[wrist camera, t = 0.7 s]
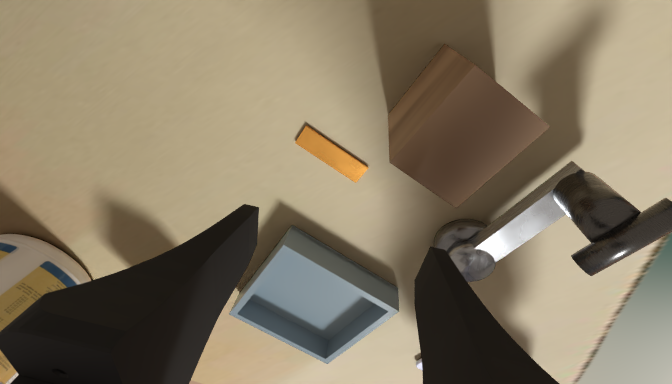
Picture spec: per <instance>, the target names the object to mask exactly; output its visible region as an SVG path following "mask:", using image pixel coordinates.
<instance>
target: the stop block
mask: <svg viewBox="0 0 672 384" xmlns="http://www.w3.org/2000/svg"><path fill="white" fill-rule="evenodd" d="M388 124H389V157H390V163H391V164H393V165H394V166H396V167H397V168H398V169H400V170H401V171H403V172H404V173H406V174H407V175H409V176H410V177H412V178H413V179H414V180H416V181H417V182H419V183H420V184H422V185H423V186H425V187H426V188H427V189H429V190H430V191H432V192H433V193H435V194H436V195H438V196H439V197H440V198H442V199H443V200H445V201H446V202H448V203H449V204H451V205H452V206H453V207H455V208H457V207H458V206H460V205H461V204H462V203H463V202H464V201H465V200H467V199H468V198H469V197H470V196H471V195H472V194H473V193H475V192H476V191H477V190H478V189H479V188H480V187H481V186H483V185H484V184H485V183H486V182H487V181H488V180H490V179H491V178H492V177H493V176H494V175H495V174H496V173H498V172H499V171H500V170H501V169H502V168H503V167H505V166H506V165H507V164H508V163H509V162H510V161H511V160H513V159H514V158H515V157H516V156H517V155H518V154H520V153H521V152H522V151H523V150H524V149H525V148H526V147H528V146H529V145H530V144H531V143H532V142H533V141H535V140H536V139H537V138H538V137H539V136H540V135H541V134H543V133H544V132H545V131H546V130H547V129H548V128H550V126H549V125H548V124H546V123H545V122H544V121H543V120H542V119H540V118H539V117H538V116H537V115H536V114H534V113H533V112H532V111H531V110H530V109H528V108H527V107H526V106H525V105H523V104H522V103H521V102H520V101H519V100H517V99H516V98H515V97H514V96H513V95H511V94H510V93H509V92H508V91H506V90H505V89H504V88H503V87H502V86H500V85H499V84H498V83H497V82H496V81H494V80H493V79H492V78H491V77H490V76H488V75H487V74H486V73H485V72H483V71H482V70H481V69H480V68H479V67H477V66H476V65H475V64H473V63H472V62H470V61H469V60H468V59H466V58H465V57H463V56H462V55H460V54H459V53H457V52H456V51H454V50H453V49H451V48H450V47H448V46H447V45H445V44H444V45H443V46H442V48H441V49H440V50H439V52H438V53H437V54H436V55H435V57H434V58H433V59H432V60H431V62H430V63H429V64H428V65H427V67H426V68H425V69H424V70H423V72H422V73H421V74H420V75H419V77H418V78H417V79H416V80H415V82H414V83H413V84H412V86H411V87H410V88H409V89H408V91H407V92H406V93H405V94H404V96H403V97H402V98H401V99H400V101H399V102H398V103H397V104H396V106H395V107H394V108H393V109H392V111H391V112H390V113H389V115H388Z"/></svg>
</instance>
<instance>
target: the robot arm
mask: <svg viewBox="0 0 672 384" xmlns="http://www.w3.org/2000/svg"><path fill="white" fill-rule="evenodd" d="M258 214H259V207H255V206H251V205H246V204H244V205H242V206H241V207H239V208H238V209H236V210H235V211H233V212H232V213H231V214H229V215H228V216H226V217H225V218H223V219H222V220H220V221H219V222H217V223H216V224H214V225H213V226H211V227H210V228H208V229H207V230H205V231H203V232H202V233H200V234H199V235H197V236H195V237H193V238H192V239H190V240H188V241H187V242H185V243H183V244H181V245H179V246H177V247H176V248H174V249H172V250H170V251H167V252H165V253H163V254H161V255H159V256H157V257H155V258H152V259H150V260H147V261H145V262H142V263H140V264H138V265H135V266H133V267H130V268H128V269H125V270H122V271H119V272H117V273H114V274H111V275H108V276H105V277H102V278H99V279H96V280H92V281H89V282H86V283H82V284H78V285H75V286H71V287H67V288H64V289H60V290H56V291H53V292H48V293H45V294H44V295H43V296H41V297H40V298H39V299H38V300H37V301H35V302H34V303H33V304H32V305H31V306H30V307H28V308H27V309H26V310H25V311H24V312H22V313H21V314H20V315H19V316H18V317H17V318H15V319H14V320H13V321H12V322H11V323H10V324H8V325H7V326H6V327H5V328H4V329H3V330H1V332H0V350H1V352H2V353H3V354H4V356H5V357H6V358H7V360H8V361H9V362H10V364H11V365H12V366H13V368H14V369H15V370H16V372H17V373H18V374H19V375H18V376H17V377H16V378H15V379H14V380H13V381H12V382H11V383H10V384H189V382H190V380H191V378H192V375H193V373H194V370H195V368H196V366H197V363H198V361H199V359H200V357H201V354H202V352H203V350H204V347H205V345H206V343H207V341H208V338H209V336H210V334H211V332H212V330H213V327H214V325H215V323H216V321H217V319H218V317H219V315H220V313H221V311H222V310H223V308H224V306H225V304H226V303H227V301H228V299H229V298H230V296H231V294H232V292H233V291H234V289H235V287H236V285H237V284H238V282H239V280H240V279H241V277H242V275H243V273H244V272H245V270H246V268H247V266H248V264H249V262H250V260H251V257H252V255H253V253H254V250H255V248H256V245H257V234H258ZM415 311H416V319H417V327H418V334H419V342H420V350H421V357H422V358H421V359H420V360H418V361H417V362H416V367H417V368H419V369H421V370H422V371H423V384H559V383H558V382H557V381H556V380H554V379H553V378H552V377H551V376H550V375H549V374H548V373H547V372H546V371H544V370H543V369H542V368H541V367H540V366H539V365H538V364H537V363H536V362H535V361H534V360H533V359H532V358H531V357H530V356H529V355H528V354H527V353H526V352H525V351H524V350H523V349H522V348H521V347H520V346H519V345H518V344H517V343H516V342H515V341H514V340H513V339H512V338H511V336H510V335H509V334H508V333H507V332H506V331H505V330H504V329H503V328H502V326H501V325H500V324H499V323H498V322H497V321H496V320H495V318H494V317H493V316H492V315H491V313H490V312H489V311H488V310H487V308H486V307H485V306H484V305H483V303H482V302H481V301H480V299H479V298H478V297H477V295H476V294H475V293H474V291H473V290H472V288H471V287H470V286H469V284H468V283H467V281H466V280H465V278H464V277H463V275H462V274H461V272H460V271H459V269H458V268H457V266H456V265H455V263H454V262H453V260H452V259H451V257H450V256H449V254H448V253H447V252H446V250H444V249H439V248H435V247H430V249H429V251H428V253H427V255H426V257H425V259H424V262H423V264H422V266H421V268H420V270H419V272H418V274H417V277H416V279H415ZM0 384H4V383H2V382H0Z"/></svg>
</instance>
